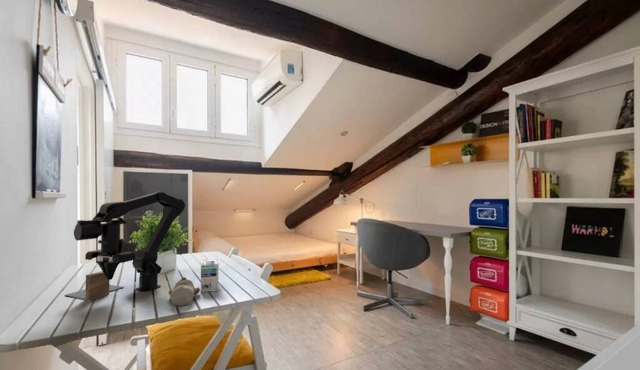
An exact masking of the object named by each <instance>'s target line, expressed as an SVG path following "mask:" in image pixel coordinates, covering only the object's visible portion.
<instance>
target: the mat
mask: <svg viewBox="0 0 640 370" xmlns="http://www.w3.org/2000/svg"><path fill="white" fill-rule="evenodd" d="M121 289H124V286H121V285H114V284H109V293H112V292H114V291H115V292H116V291H118V290H121ZM85 291H86V288H84V289H82V290H77V291H74V292H73V291H72V292H71V293H66V294H64V297H67V296H70V297H69V298H73V297H75V298H74V299H78V298H80V299H81V300H84V299H85Z"/></svg>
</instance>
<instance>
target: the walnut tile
mask: <svg viewBox="0 0 640 370" xmlns="http://www.w3.org/2000/svg"><path fill="white" fill-rule="evenodd" d="M110 281H111V280H108V279H107V278H106V276H105V274H104V272H103V271H102V270H101V271H96V272H93V273H88V274H85V289H86V291H85V300H84V301H88V300H90V301H92V299H93V300H95V299H98V298H103V297H105V296H108V295H110V292H109V285H110Z"/></svg>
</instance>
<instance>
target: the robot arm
mask: <svg viewBox="0 0 640 370" xmlns="http://www.w3.org/2000/svg"><path fill="white" fill-rule="evenodd" d="M155 203H158V205H160V206H161V207H162V216H161V218H160V220H159V222H158V223H157V226H156V227H155V230H154V231H153V233H152V235H150V236H151V237H150V238H149V240H148V242H147V243H146V246H145V247H144V248H143V249H137V250H136V252H135V249H136V246H137V245H136V244H132V243H127V242H126V241H125V240H124V239H123V238H121V225H125V224H128V222H127V220H125V219H124V218H123V217H124V216H125V215H127V214H128V213H130V212H131V211H133V210H137V209H139V208H143V207H146V206H148V205H149V206H150V205H153V204H155ZM185 209H186V203H185V201H184V200H183V199H182V198H181V199H180V198H177V197H175V196H172V195H169V194H167V193H165V192H164V191H154V192H153V193H149V194H145V195H141V196H138V197H135V198H132V199H128V200H124V201H123V200H122V201H113V202H105V203H103V204H101V206H100V207H99V210H98V212H97V213H96V214H95V216H94V217H93V218H91V220H89V219H87V220H85V219H84V220H83V219H82V220H81V219H79V220H77V221H76V225H75V227H74V229H73V238H74V239H75V241H77V242H78V241H84V240H85V241H86V240H95V239H99V237H101V238H100V239H99V240H98V241H97V242H98V243H97V244H100V249H97V250H96V249H95V250H90V251H87V252H86V253H85V256H84V257H85V260H88V261H92V260H93V259H97V260H96V261H95V263H96V264H98V266H99V268H100V269H101V271H103V272H104V274H105V276H106V278H107V279H108V280H110V281H111V280H112V279H113V277H114V276H115V273H116V271H117V268H118V266H119V265H120V264H123V263H128V262H131V261H132V263H131V264H132V268H134V269H135V270H136V273H138V274H139V278H138V279H139V280H138V287H135V290H137V291H143V292H144V291H145V292H149V291H151V290H155V289H159V288H160V287H161V284H160V285H159V283H158V280H159V278H158V276H159V275H158V274H160V273H162V267H161V266H160V265H159V264H158V263H157V261H158V257H159V255H158V254H159V250H160V248H161V245H162V244H163V242H164V240H165V238H166V236H167V234H168V232H169V230H170V229H171V226H172V224H173V223H174V221H175V219H177V218H178V217H179V216H180V215H181V214H182V213H183V212H184V211H185Z"/></svg>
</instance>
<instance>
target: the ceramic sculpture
mask: <svg viewBox="0 0 640 370" xmlns="http://www.w3.org/2000/svg"><path fill="white" fill-rule="evenodd" d="M200 292H201V287H199V286H198V287H195V285H194V283H193V280H191V279H187V278H186V277H182V278H180V280H178V281H177V282H176V283H175V284H174V287H173V288H172V289H171V290H169V291H168V295H169V298H170V302H171V303H172V304H173V305H174V306H179V307H183V306H186V305H189V304H190V303H191V302H192V301H193V299H194V296H196V295H198V294H199V293H200Z"/></svg>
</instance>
